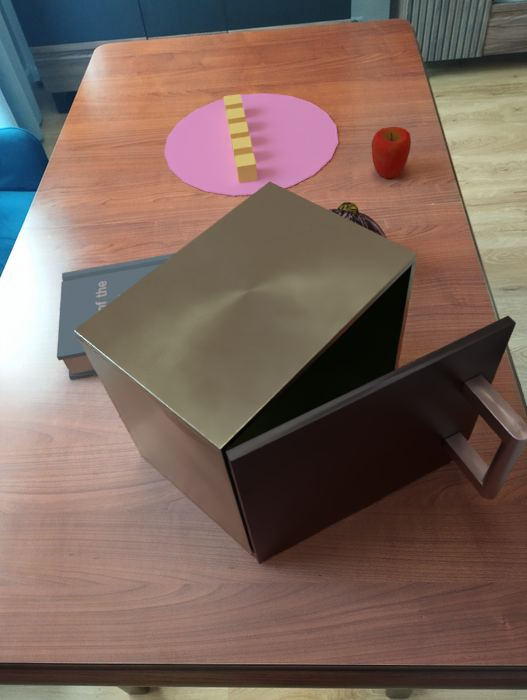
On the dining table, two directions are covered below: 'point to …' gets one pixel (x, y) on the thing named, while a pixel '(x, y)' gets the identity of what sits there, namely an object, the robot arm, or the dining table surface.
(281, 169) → the platter
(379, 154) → the apple
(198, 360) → the storage compartment
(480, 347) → the compartment door
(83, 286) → the book
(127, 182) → the dining table surface
